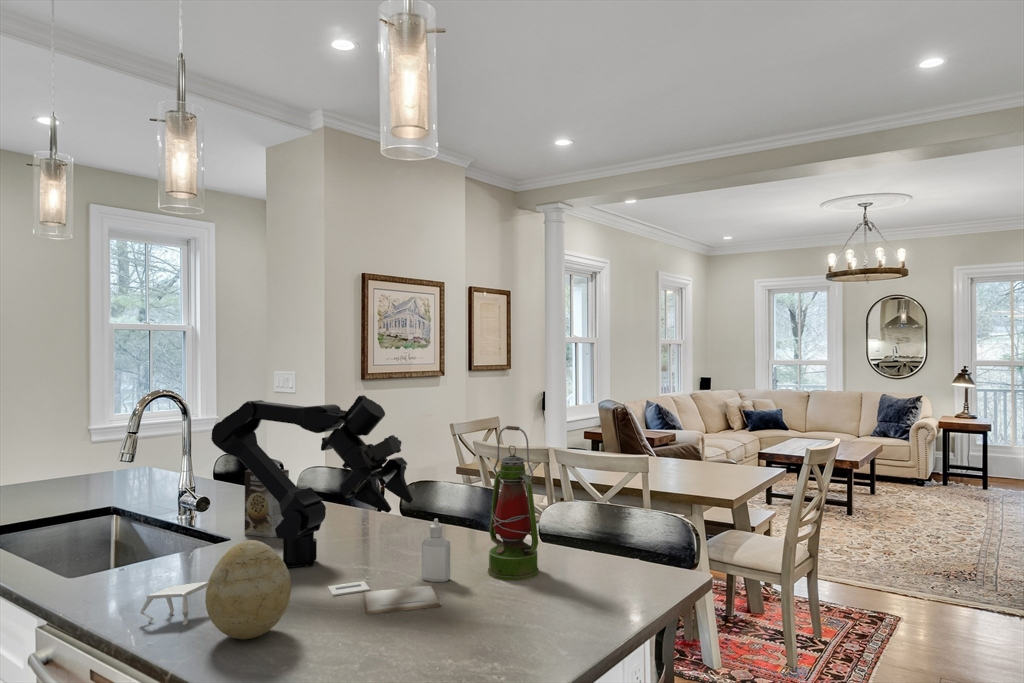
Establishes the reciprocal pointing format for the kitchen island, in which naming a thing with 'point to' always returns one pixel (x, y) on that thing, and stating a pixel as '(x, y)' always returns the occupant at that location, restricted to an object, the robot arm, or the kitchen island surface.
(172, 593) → the white toy table
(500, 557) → the lantern
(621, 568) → the kitchen island surface
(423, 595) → the notepad
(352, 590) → the plate
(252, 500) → the coffee box
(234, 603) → the fossilized egg
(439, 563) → the eye dropper bottle
